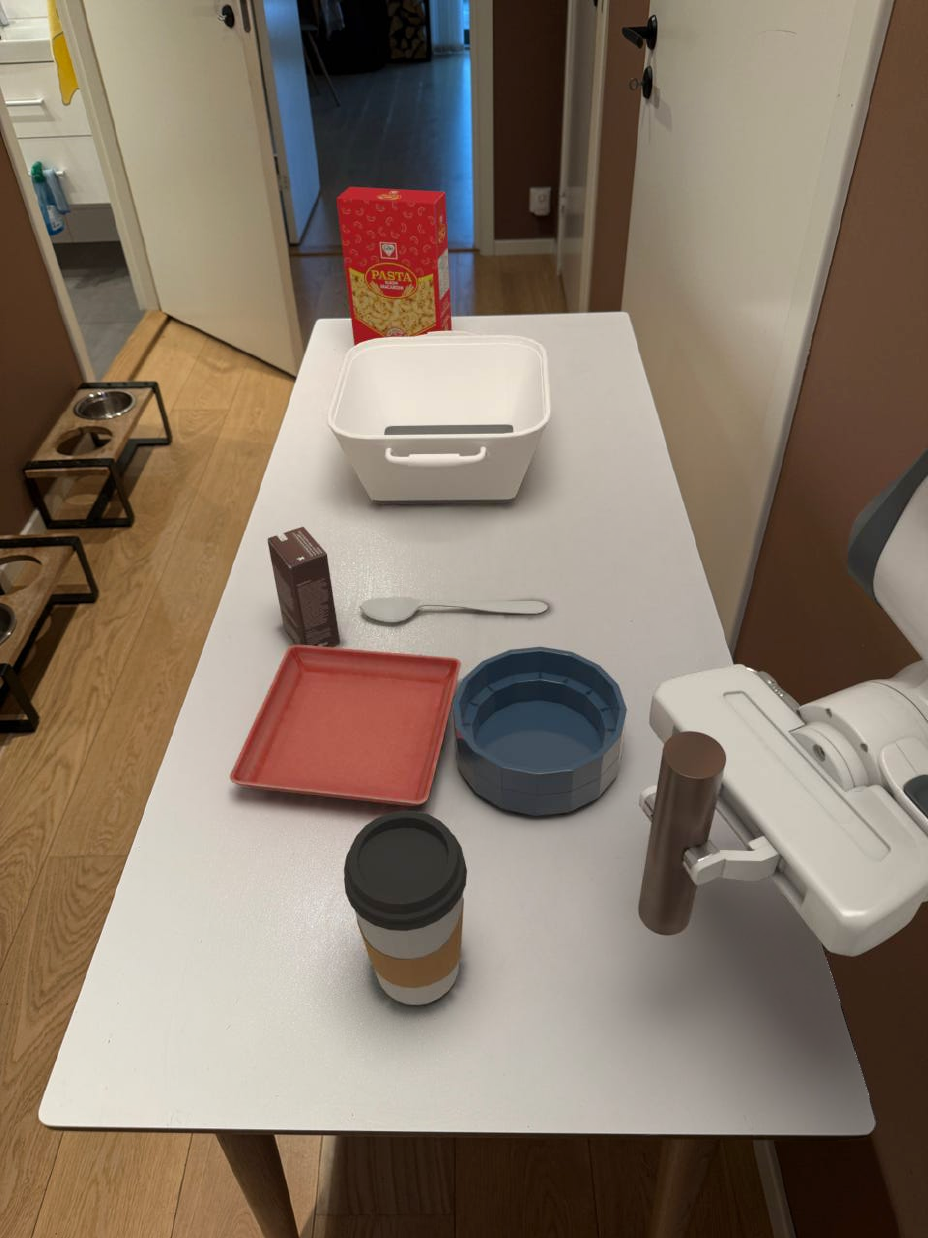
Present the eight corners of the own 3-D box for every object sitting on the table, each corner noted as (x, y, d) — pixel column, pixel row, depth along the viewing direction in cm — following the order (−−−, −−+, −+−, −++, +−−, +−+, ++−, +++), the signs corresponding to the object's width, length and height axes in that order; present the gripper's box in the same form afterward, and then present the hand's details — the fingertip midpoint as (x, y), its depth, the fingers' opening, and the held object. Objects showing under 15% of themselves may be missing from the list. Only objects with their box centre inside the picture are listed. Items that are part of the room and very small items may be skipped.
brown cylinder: (699, 908, 61) (737, 749, 51) (674, 945, 59) (708, 788, 49) (654, 881, 63) (681, 721, 52) (628, 916, 61) (651, 759, 50)
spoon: (362, 603, 104) (360, 592, 102) (545, 595, 103) (546, 584, 102) (359, 628, 100) (358, 617, 99) (549, 620, 100) (549, 609, 99)
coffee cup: (380, 911, 75) (360, 796, 65) (481, 928, 73) (477, 813, 63) (350, 1010, 69) (323, 900, 59) (460, 1031, 67) (451, 922, 57)
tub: (551, 544, 110) (554, 451, 102) (329, 546, 112) (314, 454, 103) (543, 406, 136) (545, 322, 127) (362, 408, 137) (352, 326, 129)
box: (343, 642, 99) (328, 553, 91) (305, 658, 97) (286, 569, 89) (319, 612, 103) (303, 523, 95) (282, 627, 101) (262, 538, 93)
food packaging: (356, 360, 149) (336, 198, 133) (367, 346, 153) (349, 186, 136) (443, 369, 146) (434, 203, 129) (452, 354, 150) (445, 191, 133)
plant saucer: (233, 803, 83) (225, 780, 81) (293, 664, 97) (288, 641, 94) (429, 827, 81) (426, 804, 78) (464, 681, 94) (462, 657, 92)
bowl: (650, 740, 87) (657, 693, 83) (559, 850, 78) (562, 802, 74) (519, 673, 94) (520, 625, 90) (423, 766, 86) (418, 718, 82)
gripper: (760, 626, 64) (584, 688, 60) (996, 854, 50) (784, 954, 46) (745, 690, 68) (580, 751, 64) (959, 918, 54) (762, 1014, 50)
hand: (666, 838), depth 55 cm, fingers closed on brown cylinder, 3 cm apart
